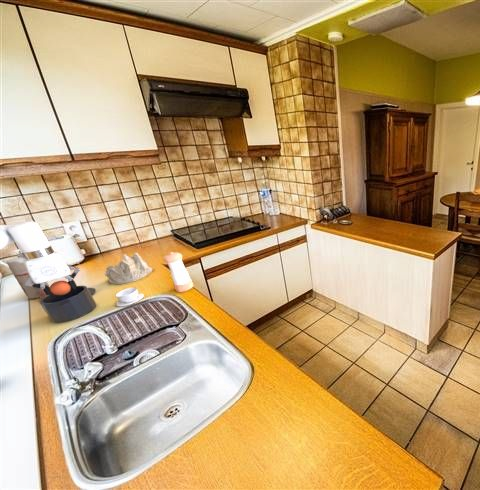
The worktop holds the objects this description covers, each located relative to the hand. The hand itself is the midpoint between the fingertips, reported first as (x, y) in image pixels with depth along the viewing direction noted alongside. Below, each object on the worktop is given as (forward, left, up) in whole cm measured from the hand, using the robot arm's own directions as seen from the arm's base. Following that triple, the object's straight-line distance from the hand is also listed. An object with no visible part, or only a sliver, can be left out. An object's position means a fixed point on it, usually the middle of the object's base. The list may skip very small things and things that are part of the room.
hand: (62, 291), depth 110 cm
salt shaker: (+38, -16, -11) cm, 42 cm away
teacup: (+18, -8, -11) cm, 23 cm away
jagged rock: (+22, +22, -11) cm, 33 cm away
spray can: (-12, +36, -11) cm, 40 cm away
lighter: (-9, +27, -11) cm, 31 cm away
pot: (0, 0, -11) cm, 11 cm away
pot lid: (0, +17, -10) cm, 20 cm away
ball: (0, 0, +2) cm, 2 cm away
